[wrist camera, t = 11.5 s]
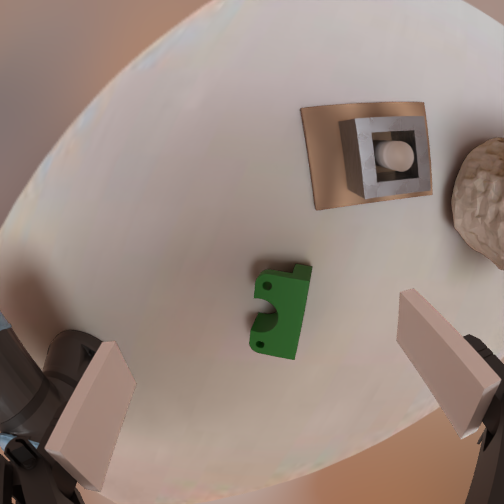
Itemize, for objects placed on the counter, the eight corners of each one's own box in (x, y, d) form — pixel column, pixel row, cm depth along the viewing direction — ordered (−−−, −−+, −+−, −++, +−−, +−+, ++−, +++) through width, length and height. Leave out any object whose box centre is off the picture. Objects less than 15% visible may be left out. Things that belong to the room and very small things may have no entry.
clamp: (270, 260, 43) (259, 256, 35) (312, 267, 42) (312, 265, 33) (255, 343, 43) (240, 359, 34) (296, 351, 42) (292, 370, 33)
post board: (315, 208, 36) (331, 226, 29) (300, 108, 32) (313, 100, 25) (428, 193, 35) (463, 207, 28) (420, 103, 31) (455, 98, 24)
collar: (347, 189, 34) (364, 199, 29) (338, 121, 32) (354, 118, 26) (406, 182, 34) (430, 190, 28) (399, 117, 31) (424, 115, 26)
